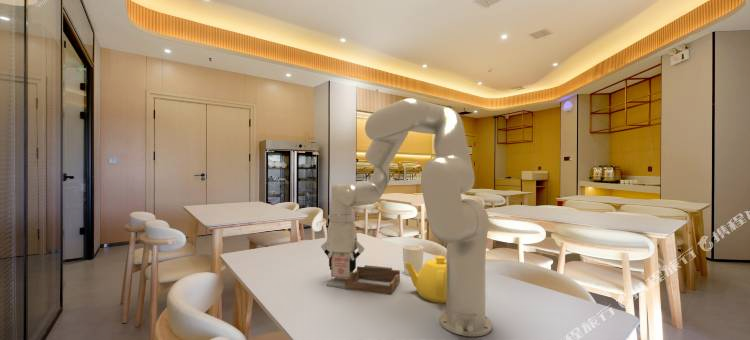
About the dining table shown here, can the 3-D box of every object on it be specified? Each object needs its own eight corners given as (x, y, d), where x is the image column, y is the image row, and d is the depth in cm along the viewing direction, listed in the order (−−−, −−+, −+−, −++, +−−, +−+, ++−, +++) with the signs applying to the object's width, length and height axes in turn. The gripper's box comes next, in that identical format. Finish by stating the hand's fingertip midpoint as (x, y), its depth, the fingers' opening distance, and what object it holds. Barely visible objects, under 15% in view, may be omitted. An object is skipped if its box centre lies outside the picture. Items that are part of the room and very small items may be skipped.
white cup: (424, 276, 116) (424, 249, 116) (403, 276, 116) (403, 249, 116) (422, 269, 124) (422, 244, 124) (402, 269, 124) (402, 244, 124)
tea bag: (335, 273, 113) (335, 245, 113) (353, 275, 111) (353, 246, 111) (331, 276, 110) (331, 247, 110) (349, 278, 108) (349, 249, 108)
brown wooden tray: (391, 294, 99) (391, 280, 99) (345, 289, 104) (345, 275, 104) (399, 281, 111) (399, 268, 111) (358, 277, 115) (358, 264, 116)
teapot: (440, 311, 88) (440, 267, 88) (402, 291, 102) (402, 254, 102) (479, 297, 97) (479, 258, 97) (439, 281, 111) (439, 247, 111)
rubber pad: (345, 288, 104) (345, 286, 104) (325, 286, 106) (325, 284, 106) (356, 277, 115) (356, 276, 115) (339, 275, 117) (339, 274, 117)
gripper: (314, 219, 110) (314, 270, 109) (362, 221, 104) (362, 275, 104) (324, 216, 117) (324, 264, 117) (369, 218, 112) (369, 268, 111)
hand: (342, 269), depth 110 cm, fingers closed on tea bag, 6 cm apart
